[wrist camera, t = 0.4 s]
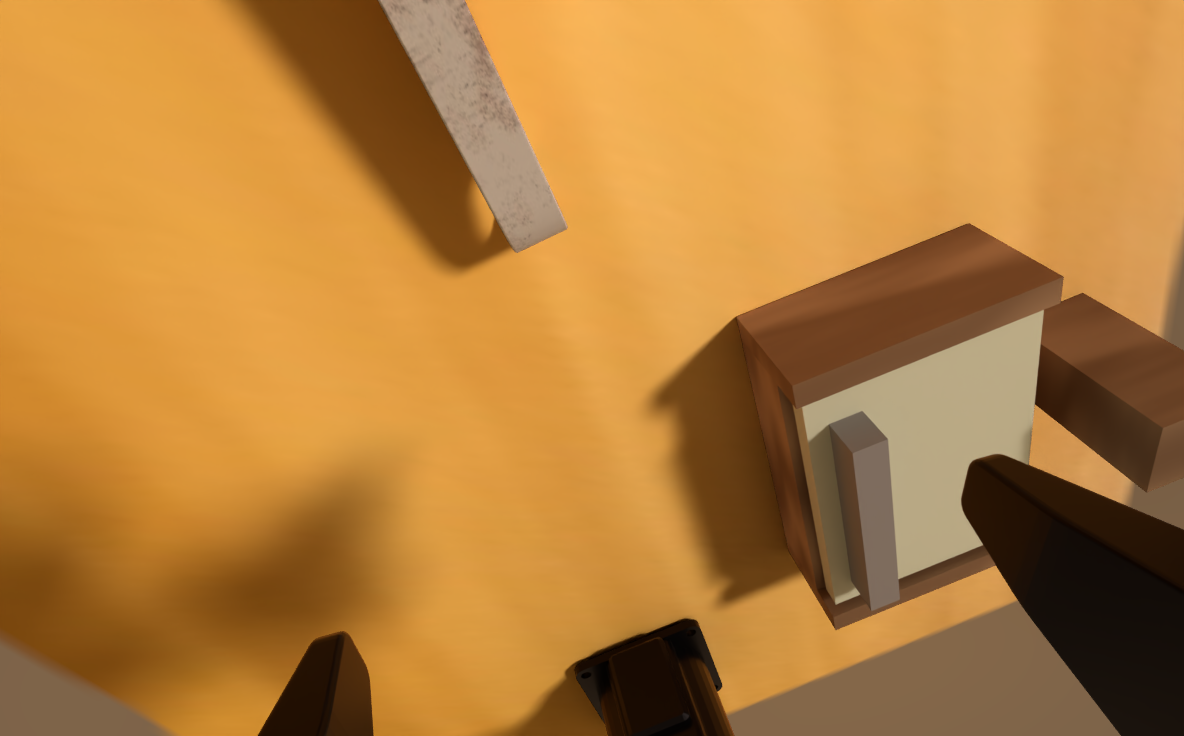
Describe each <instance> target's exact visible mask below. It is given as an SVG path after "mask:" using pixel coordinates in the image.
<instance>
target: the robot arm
mask: <svg viewBox="0 0 1184 736" xmlns="http://www.w3.org/2000/svg"><path fill="white" fill-rule="evenodd" d="M961 506H962V510H963V512H964V514H965V516H966V518H967V520H968V521H969V523H970V525H971V526H972V528H973V529H974V531H975V533H976V534H977V536H978V537H979V539H980V541H981V542H982V544H983V545H984V547H985V549H986V550H987V552H988V553H989V555H990V557H991V558H992V560H993V562H994V563H995V565H996V566H997V568H998V570H999V571H1000V573H1001V574H1002V576H1003V578H1004V579H1005V581H1006V582H1007V584H1008V586H1009V587H1010V589H1011V590H1012V592H1013V593H1014V595H1015V596H1016V598H1017V599H1018V601H1019V602H1020V604H1021V605H1022V607H1023V608H1024V610H1025V611H1026V612H1027V614H1028V615H1029V616H1030V618H1031V619H1032V621H1033V622H1034V623H1035V624H1036V626H1037V627H1038V628H1039V630H1040V631H1041V632H1042V634H1043V635H1044V636H1045V637H1046V639H1047V640H1048V641H1049V643H1050V644H1051V645H1052V647H1053V648H1054V649H1055V651H1057V653H1058V654H1059V656H1060V657H1061V658H1062V660H1063V661H1064V662H1065V663H1066V665H1067V666H1068V667H1069V669H1070V670H1071V671H1072V673H1073V674H1074V675H1075V677H1076V678H1077V679H1078V680H1079V682H1080V683H1081V684H1082V685H1083V687H1084V688H1085V689H1086V691H1087V692H1088V693H1089V695H1090V696H1091V697H1092V699H1093V700H1094V701H1095V702H1096V704H1097V705H1098V706H1099V708H1100V709H1101V710H1102V712H1103V713H1104V714H1105V716H1106V717H1107V718H1108V719H1109V721H1110V722H1111V723H1112V724H1113V726H1114V727H1115V729H1116V730H1117V731H1118V732H1119V734H1120V735H1121V736H1184V530H1183V529H1181V528H1178V527H1176V526H1174V525H1171V524H1169V523H1166V522H1164V521H1162V520H1159V519H1157V518H1154V517H1152V516H1150V515H1147V514H1145V513H1143V512H1140V511H1138V510H1135V509H1133V508H1131V507H1128V506H1126V505H1123V504H1121V503H1119V502H1116V501H1114V500H1111V499H1109V498H1107V497H1104V496H1102V495H1099V494H1097V493H1095V492H1092V491H1090V490H1088V489H1085V488H1083V487H1080V486H1078V485H1076V484H1073V483H1071V482H1068V481H1066V480H1064V479H1061V478H1059V477H1056V476H1054V475H1052V474H1049V473H1047V472H1044V471H1042V470H1040V469H1037V468H1035V467H1032V466H1030V465H1028V464H1025V463H1023V462H1021V461H1018V460H1016V459H1013V458H1011V457H1009V456H1006V455H1003V454H992V455H989V456H985V457H981V458H978V459H975V460H973V461H972V462H971V463H970V464H969V467H968V470H967V475H966V479H965V483H964V488H963V492H962V496H961ZM575 674H576V679H577V681H578V682H579V684H580V685H581V687H582V689H583V690H584V692H585V693H586V695H587V696H588V698H589V700H590V701H591V703H592V704H593V706H594V707H595V709H596V711H597V712H598V714H599V715H600V717H601V719H602V720H603V722H604V723H605V725H606V729H607V733H608V736H734V733H733V731H732V728H731V726H730V723H729V721H728V718H727V716H726V713H725V711H724V708H723V706H722V703H721V701H720V698H719V696H718V693H717V691H719V690H720V689H721V688H722V683H721V680H720V677H719V675H718V672H717V670H716V667H715V665H714V662H713V659H712V657H711V654H710V652H709V649H708V647H707V644H706V641H705V639H704V636H703V634H702V631H701V629H700V626H699V624H698V622H697V621H696V620H687V621H684V622H681V623H679V624H676V625H674V626H672V627H669V628H667V629H664V630H662V631H659V632H657V633H654V634H652V635H649V636H647V637H644V638H642V639H639V640H637V641H634V642H632V643H629V644H627V645H625V646H622V647H620V648H617V649H615V650H612V651H610V652H607V653H605V654H602V655H600V656H597V657H595V658H592V659H590V660H587V661H585V662H582V663H580V664H578V665H577V666H576V667H575ZM258 736H373V721H372V705H371V689H370V679H369V673H368V670H367V667H366V664H365V663H364V661H363V659H362V657H361V655H360V653H359V652H358V650H357V648H356V646H355V644H354V642H353V640H352V639H351V637H350V635H349V634H348V633H346V632H344V631H342V632H341V631H340V632H337V633H333V634H329V635H326V636H322V637H319V638H317V639H315V640H314V641H313V642H312V643H311V644H310V646H309V647H308V649H307V651H306V653H305V654H304V656H303V658H302V660H301V661H300V663H299V665H298V667H297V668H296V670H295V672H294V674H293V675H292V677H291V679H290V680H289V682H288V684H287V686H286V687H285V689H284V691H283V693H282V694H281V696H280V698H279V700H278V701H277V703H276V705H275V706H274V708H273V710H272V712H271V713H270V715H269V717H268V719H267V720H266V722H265V724H264V726H263V727H262V729H261V731H260V732H259V734H258Z"/></svg>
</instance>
